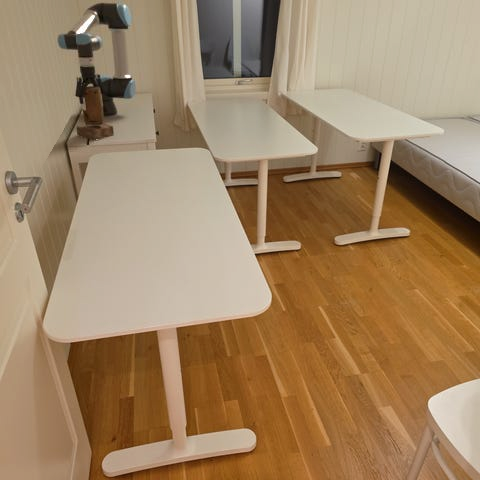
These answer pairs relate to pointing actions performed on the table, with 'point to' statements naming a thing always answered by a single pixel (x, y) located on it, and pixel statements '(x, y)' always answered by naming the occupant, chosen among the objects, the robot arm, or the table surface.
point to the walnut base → (95, 131)
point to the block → (93, 106)
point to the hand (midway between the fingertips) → (92, 107)
